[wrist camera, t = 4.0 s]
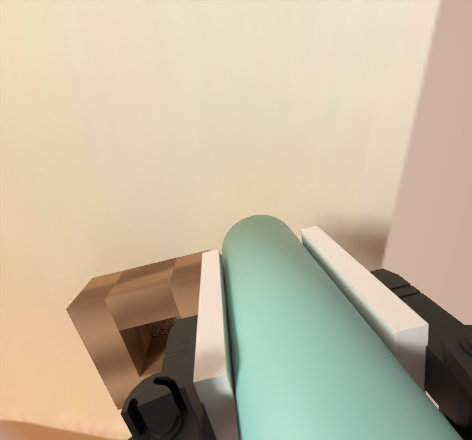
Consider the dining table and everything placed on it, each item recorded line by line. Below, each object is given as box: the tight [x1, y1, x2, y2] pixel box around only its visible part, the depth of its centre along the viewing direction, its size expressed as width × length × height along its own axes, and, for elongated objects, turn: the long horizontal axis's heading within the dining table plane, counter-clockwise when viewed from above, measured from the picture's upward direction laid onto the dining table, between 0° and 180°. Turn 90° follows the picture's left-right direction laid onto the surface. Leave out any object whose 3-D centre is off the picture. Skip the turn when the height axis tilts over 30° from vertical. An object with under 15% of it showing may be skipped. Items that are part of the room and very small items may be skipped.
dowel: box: [222, 215, 463, 440], centre depth 8 cm, size 4×4×12 cm
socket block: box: [66, 251, 208, 410], centre depth 26 cm, size 12×12×5 cm
